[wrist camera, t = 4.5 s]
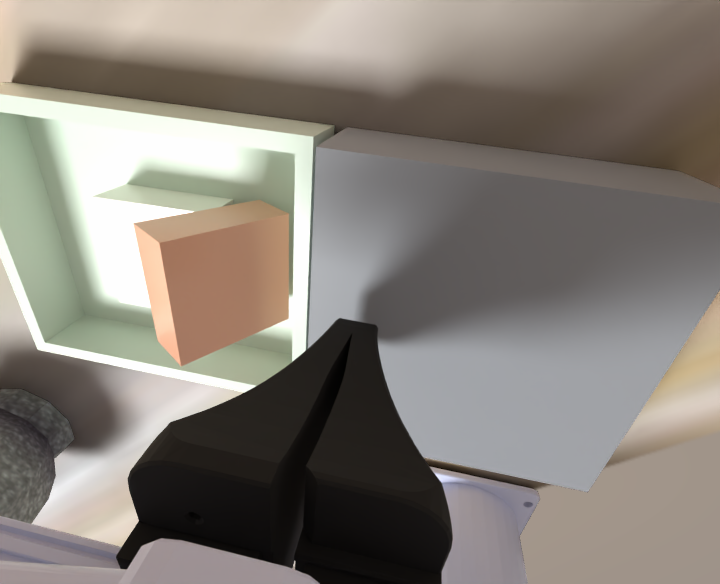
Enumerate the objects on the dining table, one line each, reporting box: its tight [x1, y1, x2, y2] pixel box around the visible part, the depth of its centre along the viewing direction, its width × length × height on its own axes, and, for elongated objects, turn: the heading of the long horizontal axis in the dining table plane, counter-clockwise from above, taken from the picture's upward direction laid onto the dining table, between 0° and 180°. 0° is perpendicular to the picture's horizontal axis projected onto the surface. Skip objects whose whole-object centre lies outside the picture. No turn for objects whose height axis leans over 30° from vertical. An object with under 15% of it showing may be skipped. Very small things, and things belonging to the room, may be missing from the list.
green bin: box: [0, 82, 335, 392], centre depth 18 cm, size 12×14×3 cm
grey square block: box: [308, 127, 720, 492], centre depth 16 cm, size 12×12×4 cm
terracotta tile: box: [133, 200, 289, 366], centre depth 16 cm, size 5×5×2 cm
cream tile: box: [92, 184, 233, 308], centre depth 18 cm, size 5×5×2 cm
